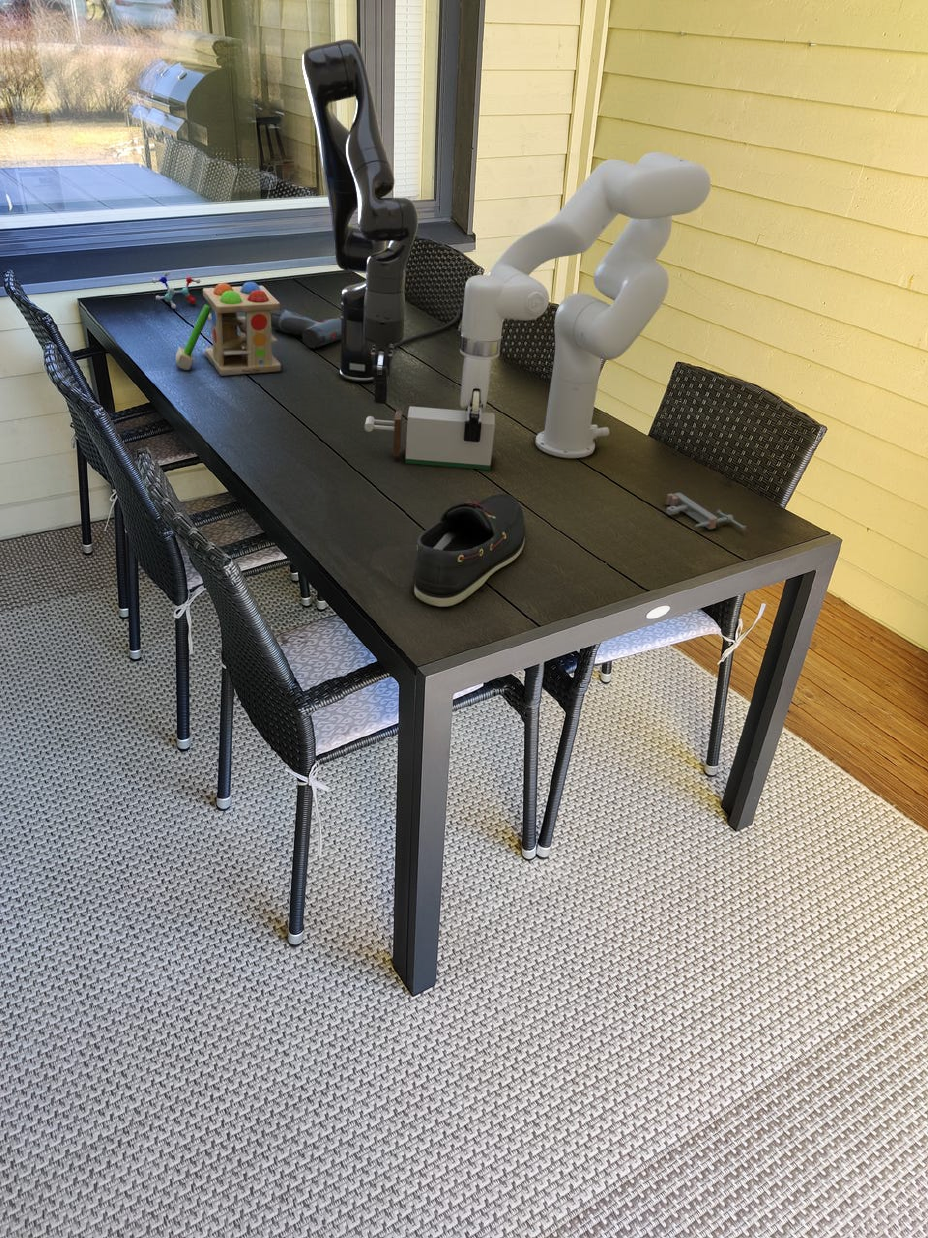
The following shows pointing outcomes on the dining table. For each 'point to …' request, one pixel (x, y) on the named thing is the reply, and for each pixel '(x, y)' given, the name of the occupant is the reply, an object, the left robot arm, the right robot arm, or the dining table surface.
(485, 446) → the cabinet
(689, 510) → the clamp
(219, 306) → the pounding bench toy
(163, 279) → the molecular model
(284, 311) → the power drill
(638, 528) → the dining table surface
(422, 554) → the boat shoe
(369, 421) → the drawer
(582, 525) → the dining table surface
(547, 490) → the dining table surface
